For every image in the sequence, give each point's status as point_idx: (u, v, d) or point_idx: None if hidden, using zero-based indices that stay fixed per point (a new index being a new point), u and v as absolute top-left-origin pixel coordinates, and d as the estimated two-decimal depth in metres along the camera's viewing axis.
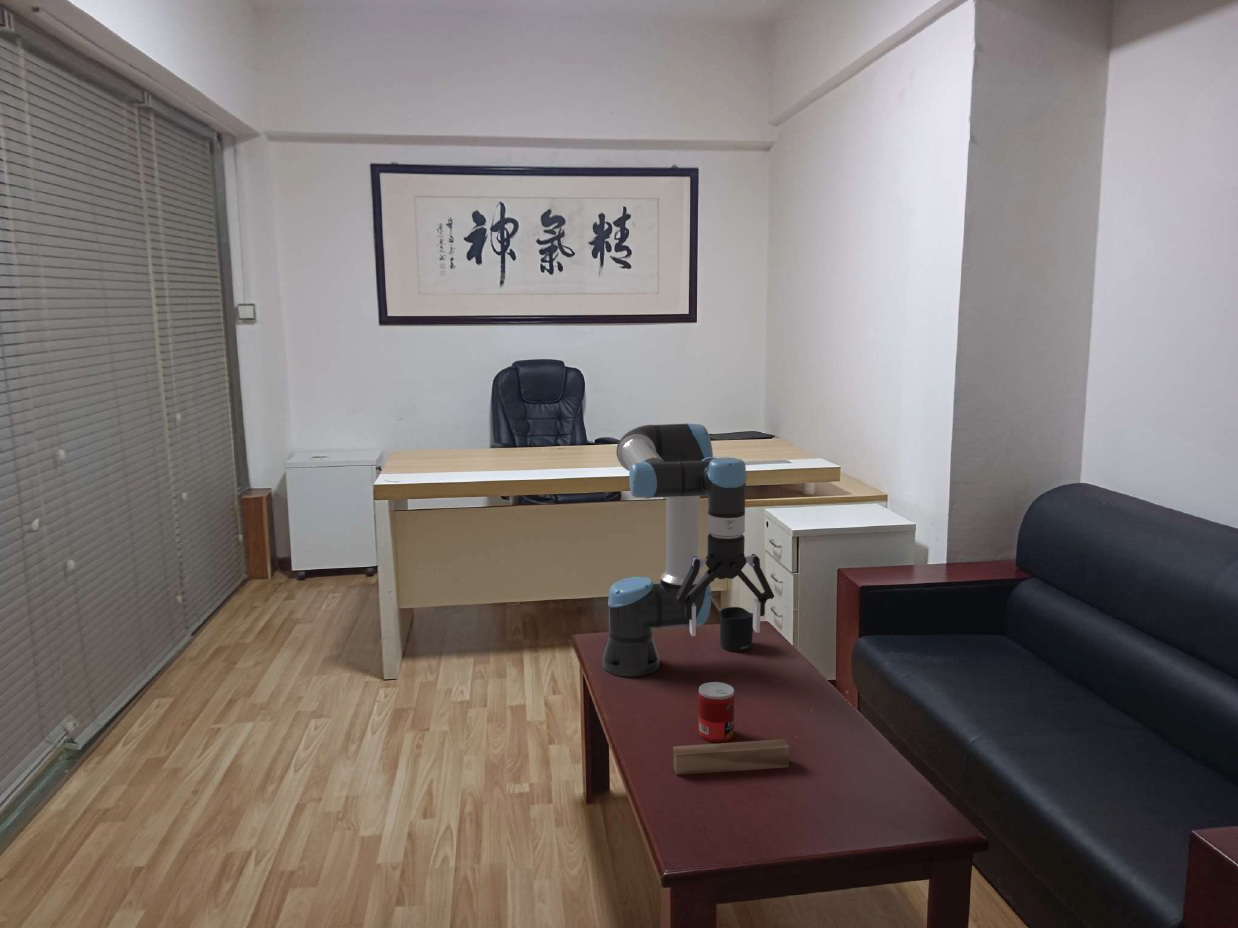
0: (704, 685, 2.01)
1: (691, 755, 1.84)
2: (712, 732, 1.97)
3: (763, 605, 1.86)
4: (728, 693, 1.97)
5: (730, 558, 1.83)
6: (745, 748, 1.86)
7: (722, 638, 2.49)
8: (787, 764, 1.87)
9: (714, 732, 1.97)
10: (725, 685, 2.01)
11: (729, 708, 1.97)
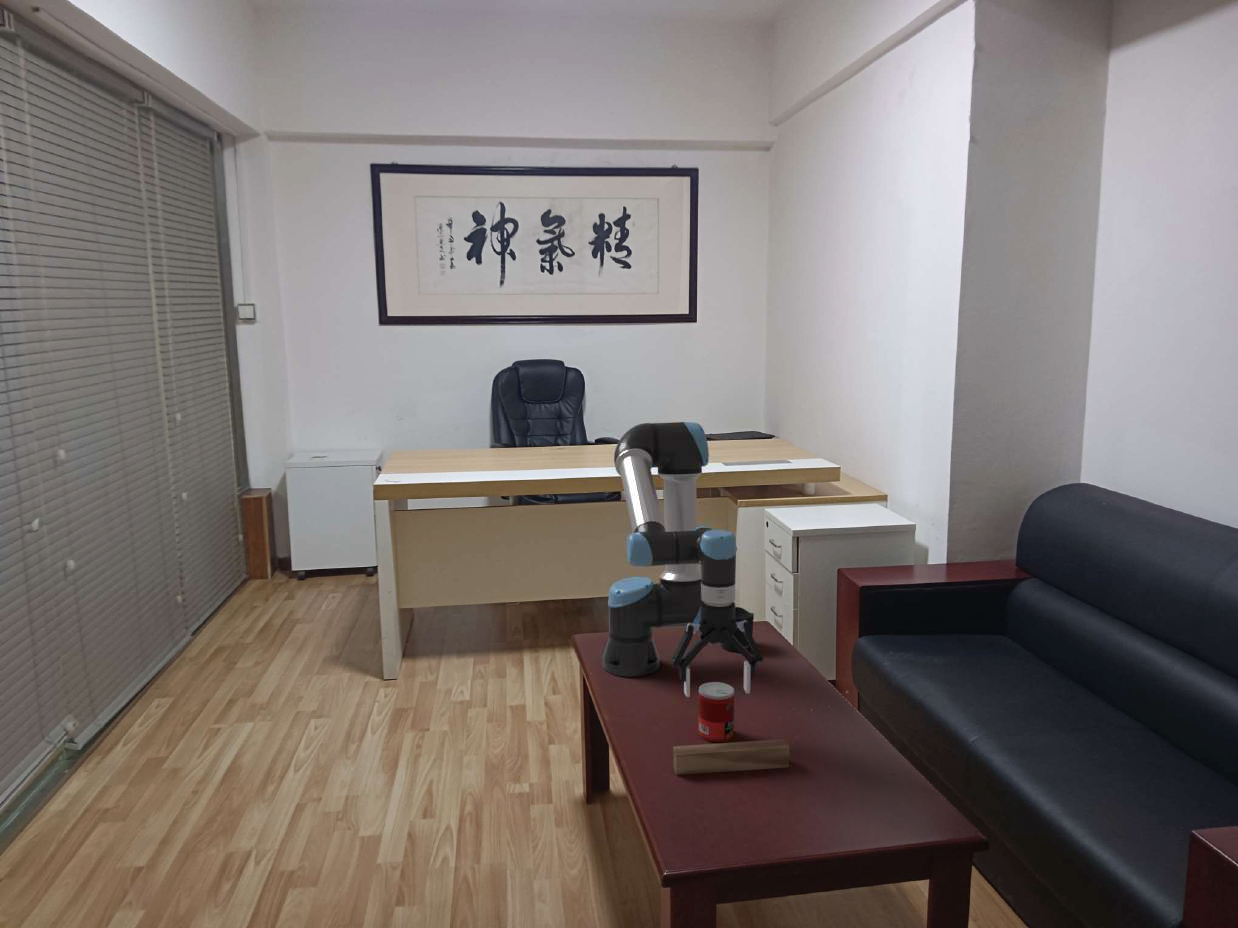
0: (704, 685, 2.01)
1: (691, 755, 1.84)
2: (712, 732, 1.97)
3: (753, 667, 1.98)
4: (728, 693, 1.97)
5: (722, 624, 1.95)
6: (745, 748, 1.86)
7: None
8: (787, 764, 1.87)
9: (714, 732, 1.97)
10: (725, 685, 2.01)
11: (729, 708, 1.97)
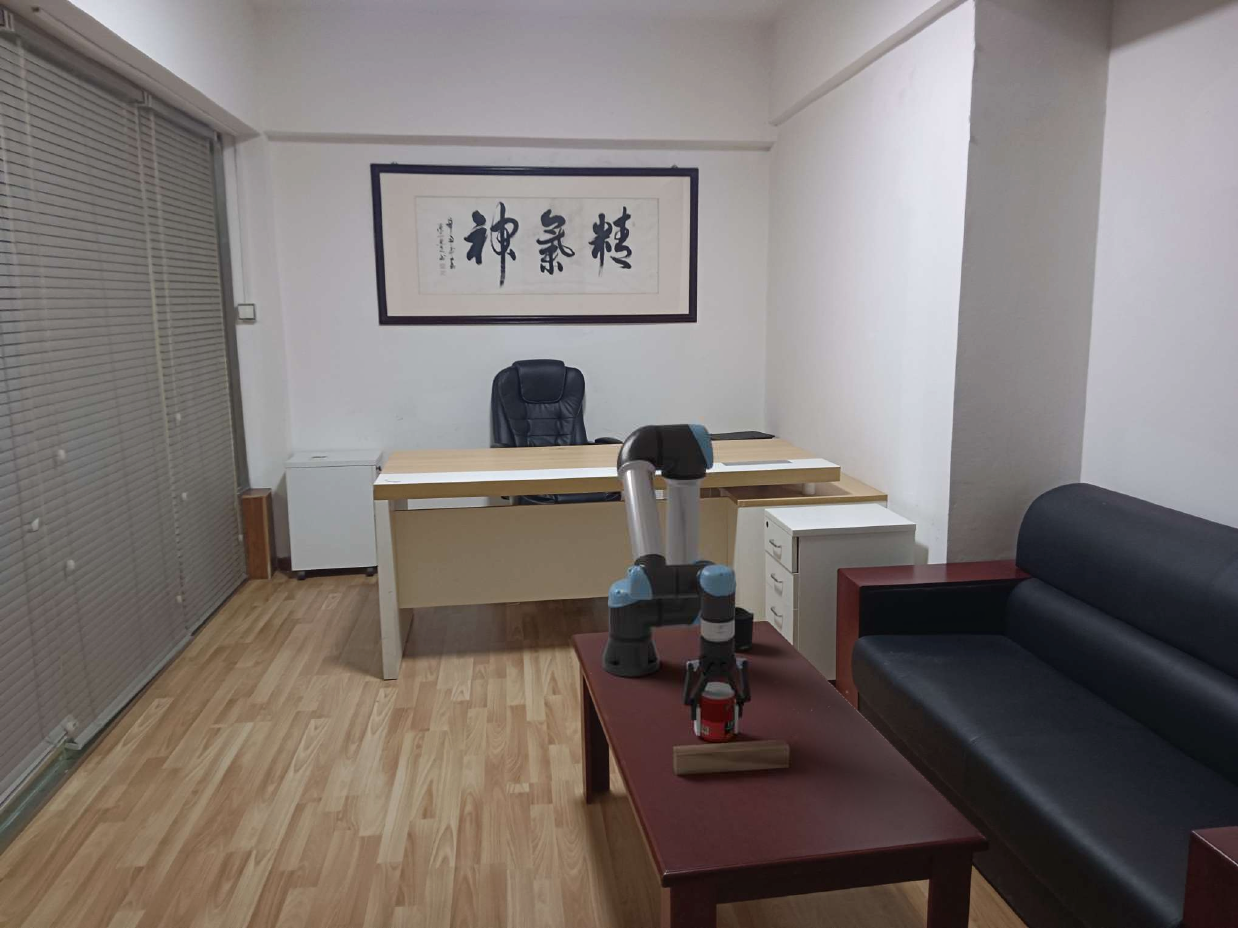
0: None
1: (691, 755, 1.84)
2: (712, 732, 1.97)
3: (741, 707, 2.00)
4: (728, 693, 1.97)
5: (721, 658, 1.97)
6: (745, 748, 1.86)
7: None
8: (787, 764, 1.87)
9: (714, 732, 1.97)
10: (725, 685, 2.01)
11: (729, 708, 1.97)
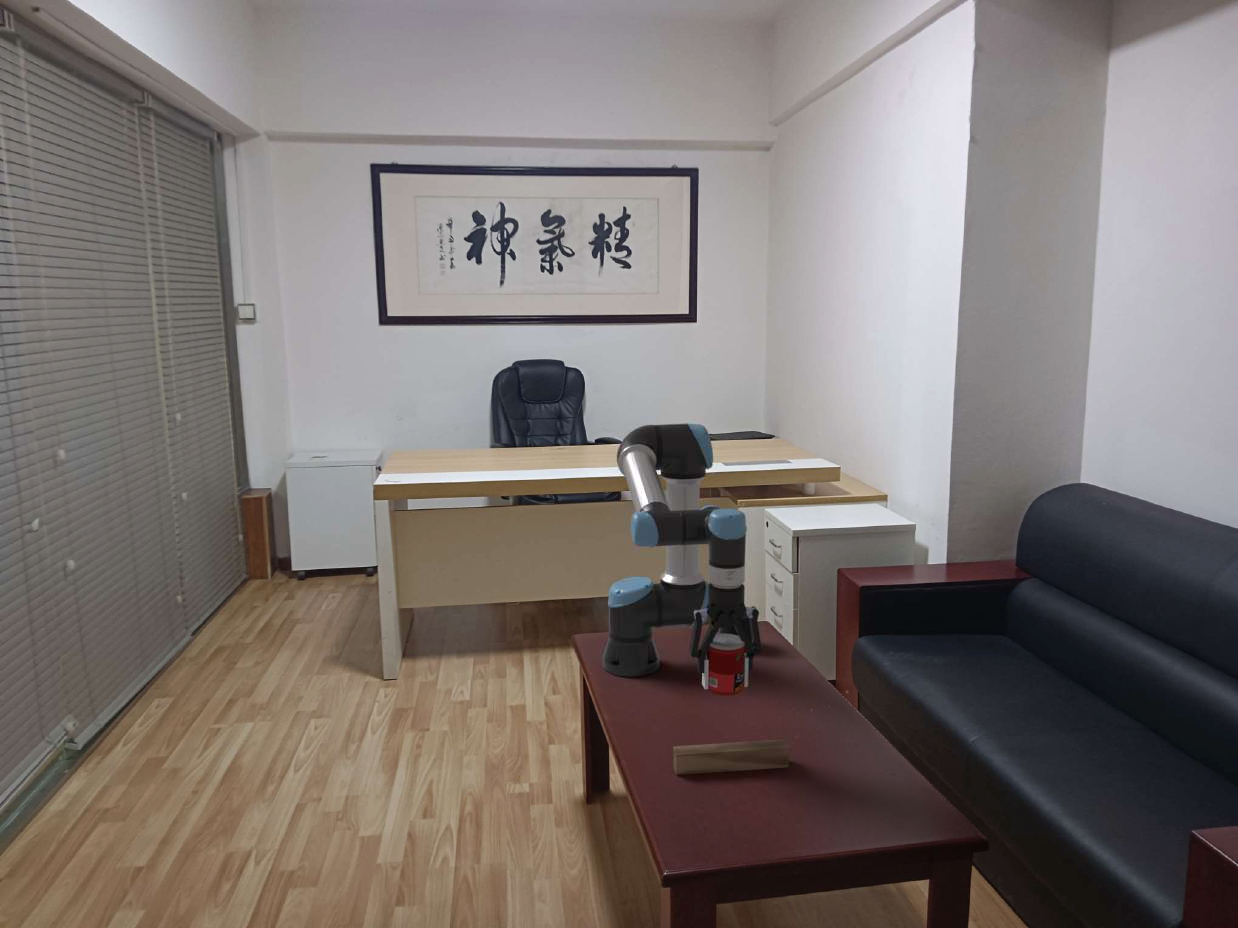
0: None
1: (691, 755, 1.84)
2: (721, 685, 1.87)
3: (751, 660, 1.90)
4: (738, 644, 1.87)
5: (730, 607, 1.87)
6: (745, 748, 1.86)
7: None
8: (787, 764, 1.87)
9: (723, 685, 1.87)
10: (734, 636, 1.91)
11: (738, 659, 1.87)
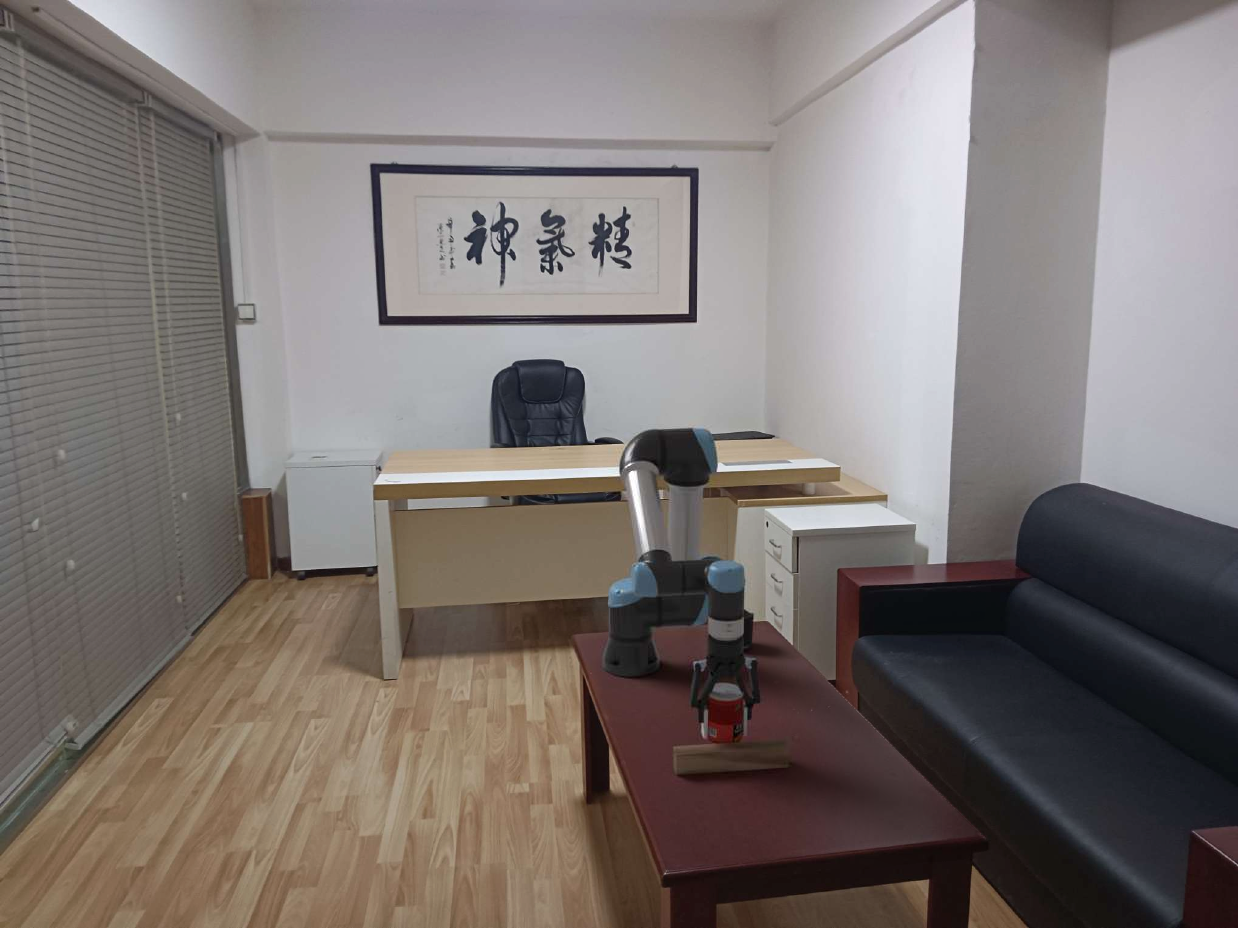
0: None
1: (691, 755, 1.84)
2: (720, 735, 1.89)
3: (750, 709, 1.92)
4: (737, 694, 1.89)
5: (729, 658, 1.89)
6: (745, 748, 1.86)
7: None
8: (787, 764, 1.87)
9: (722, 735, 1.89)
10: (733, 686, 1.93)
11: (737, 709, 1.89)
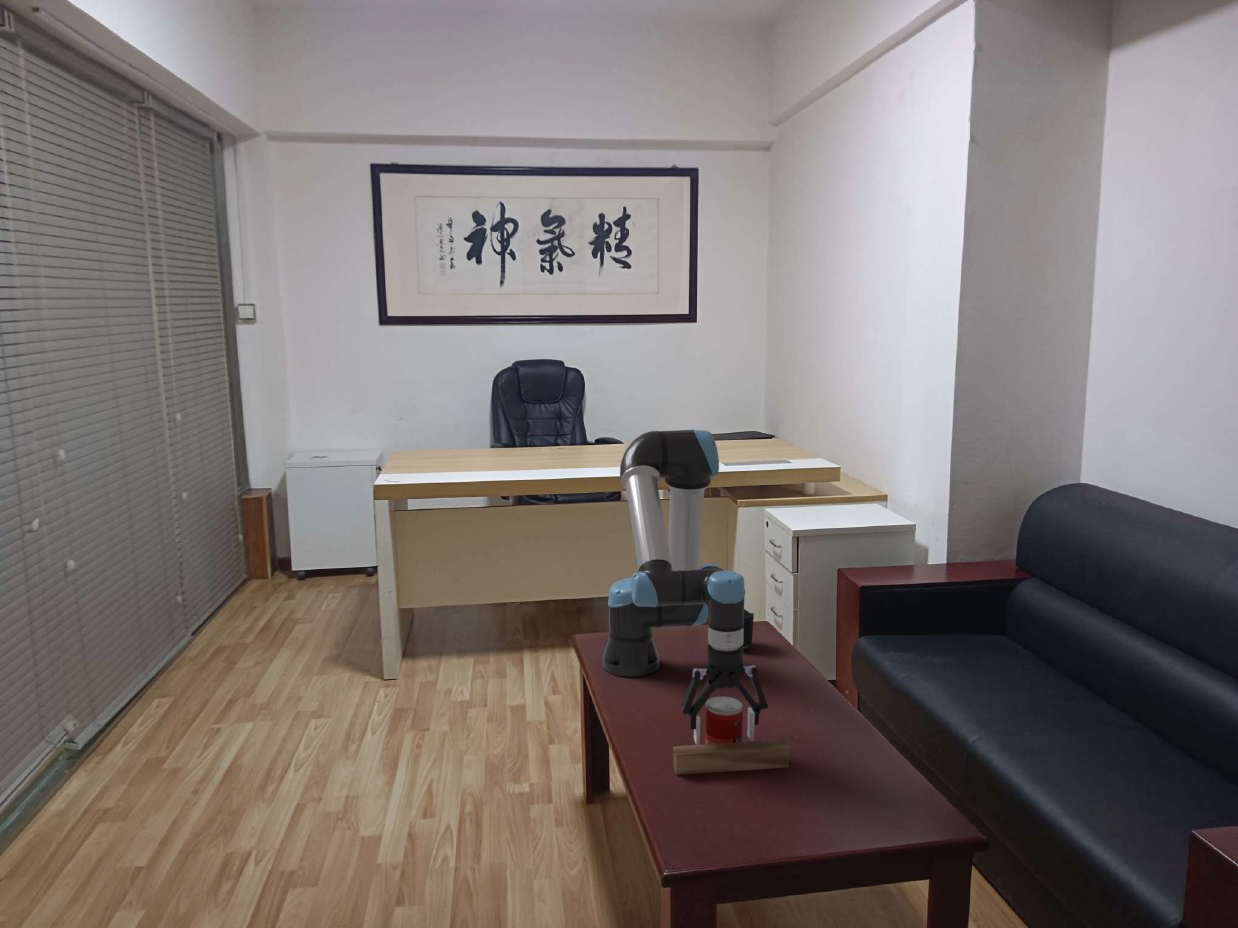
0: (711, 700, 1.94)
1: (691, 755, 1.84)
2: None
3: (757, 715, 1.93)
4: (736, 708, 1.90)
5: (729, 668, 1.89)
6: (745, 748, 1.86)
7: None
8: (787, 764, 1.87)
9: None
10: (733, 700, 1.94)
11: (737, 724, 1.89)
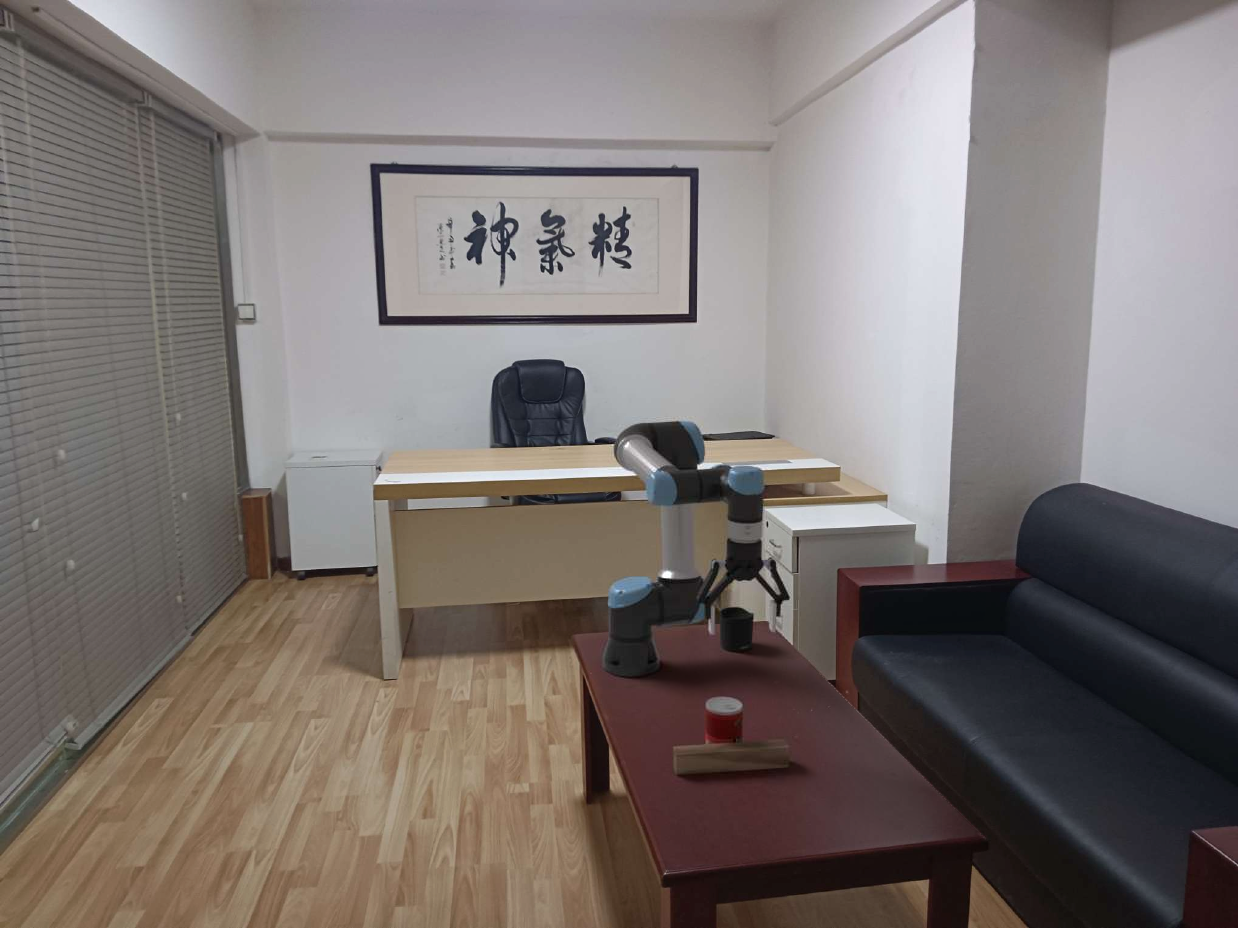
0: (711, 700, 1.94)
1: (691, 755, 1.84)
2: None
3: (779, 606, 1.95)
4: (736, 708, 1.90)
5: (748, 561, 1.92)
6: (745, 748, 1.86)
7: (722, 638, 2.49)
8: (787, 764, 1.87)
9: None
10: (733, 700, 1.94)
11: (737, 724, 1.89)
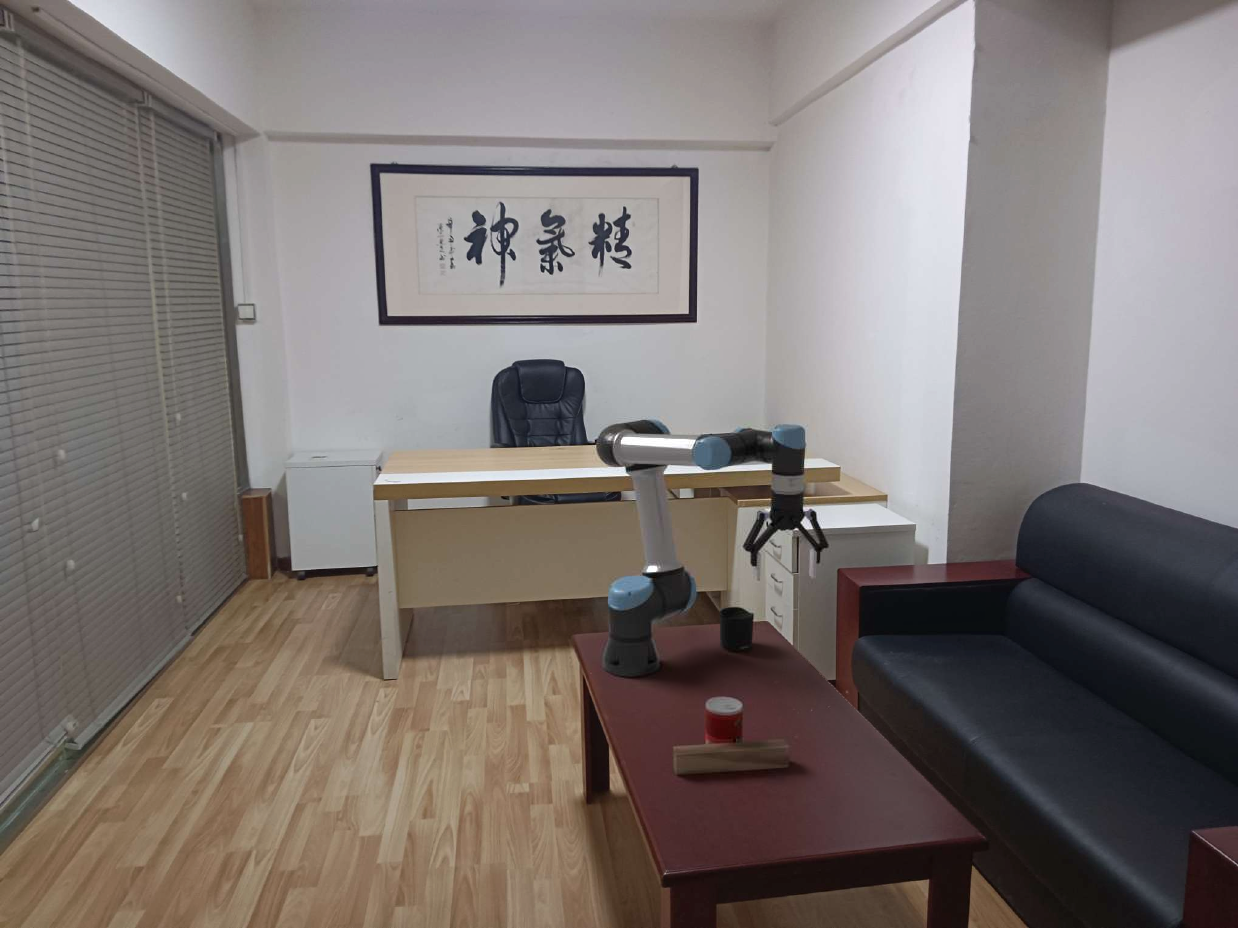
0: (711, 700, 1.94)
1: (691, 755, 1.84)
2: None
3: (819, 554, 2.12)
4: (736, 708, 1.90)
5: (791, 512, 2.09)
6: (745, 748, 1.86)
7: (722, 638, 2.49)
8: (787, 764, 1.87)
9: None
10: (733, 700, 1.94)
11: (737, 724, 1.89)
